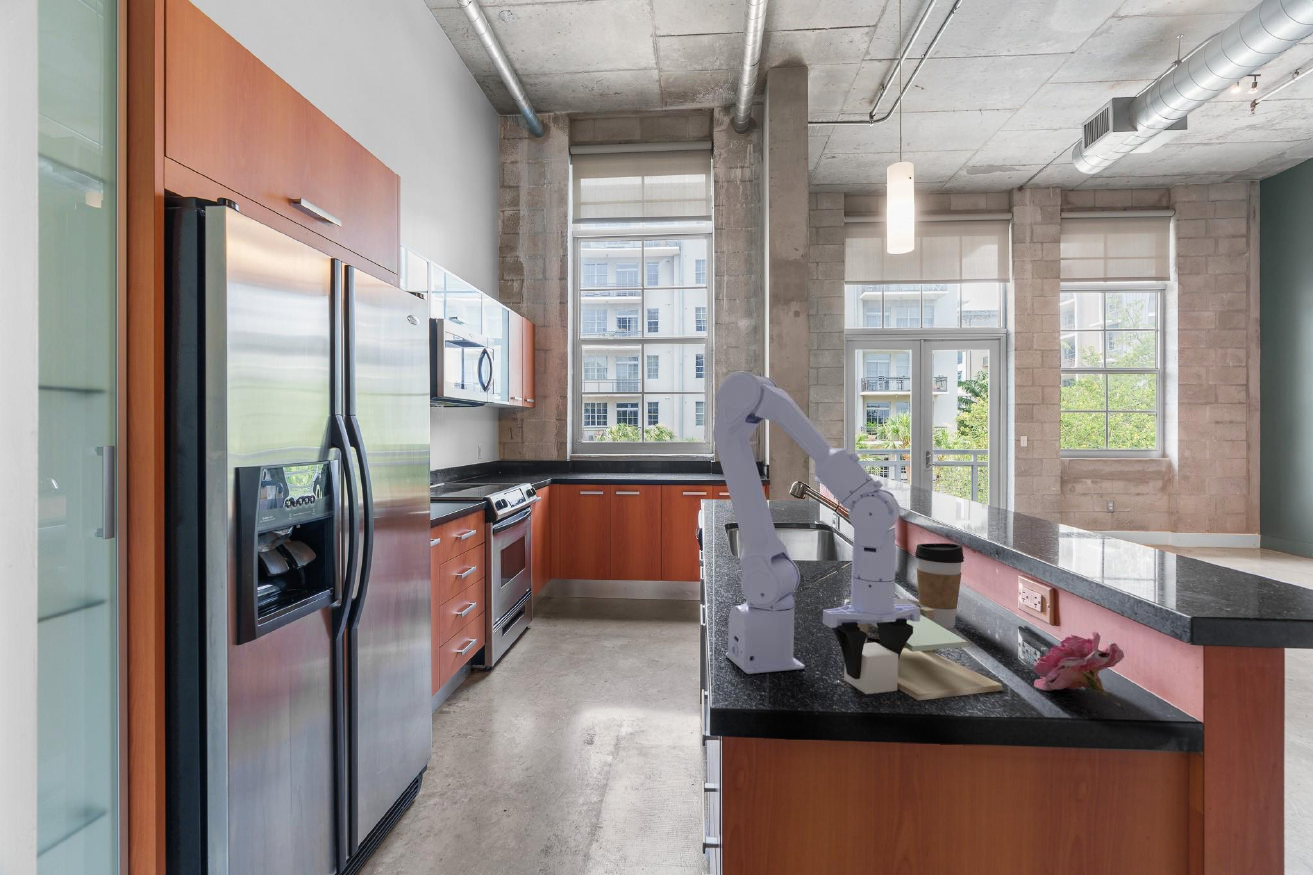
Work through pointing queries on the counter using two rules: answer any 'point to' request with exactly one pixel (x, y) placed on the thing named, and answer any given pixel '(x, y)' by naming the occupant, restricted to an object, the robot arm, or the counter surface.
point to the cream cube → (876, 670)
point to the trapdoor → (928, 634)
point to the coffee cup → (939, 580)
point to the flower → (1076, 664)
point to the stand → (936, 673)
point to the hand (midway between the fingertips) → (870, 674)
